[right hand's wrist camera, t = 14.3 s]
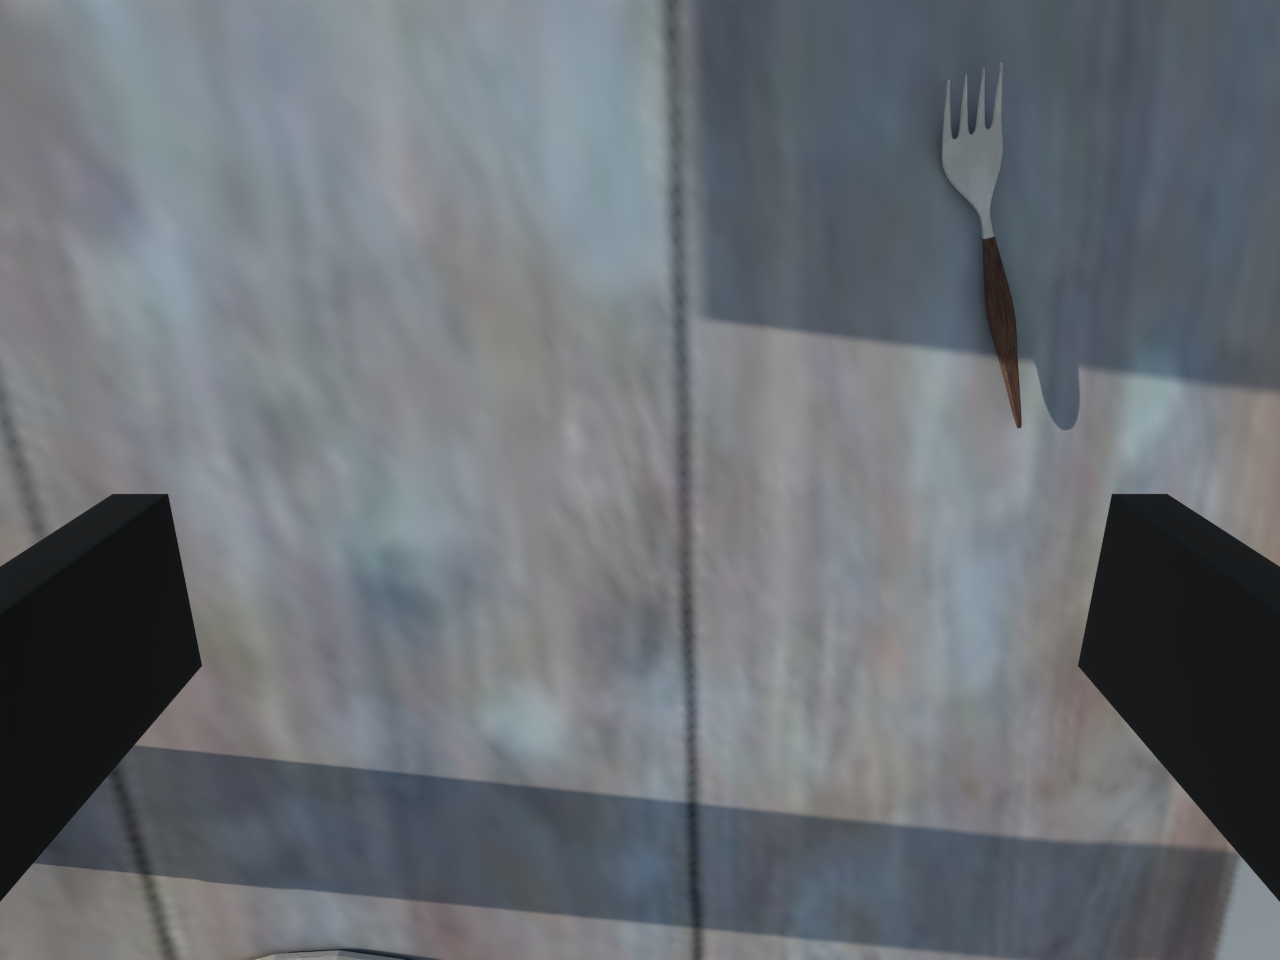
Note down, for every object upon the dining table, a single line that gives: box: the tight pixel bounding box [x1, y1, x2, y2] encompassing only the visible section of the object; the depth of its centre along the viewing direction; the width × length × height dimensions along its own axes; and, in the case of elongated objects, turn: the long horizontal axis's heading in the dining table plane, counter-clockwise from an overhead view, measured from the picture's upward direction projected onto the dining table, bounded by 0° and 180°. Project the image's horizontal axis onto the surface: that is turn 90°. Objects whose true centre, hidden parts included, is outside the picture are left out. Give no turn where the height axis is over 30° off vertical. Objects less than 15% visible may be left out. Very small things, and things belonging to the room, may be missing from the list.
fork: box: [942, 62, 1021, 428], centre depth 39 cm, size 3×16×2 cm, turn 17°
